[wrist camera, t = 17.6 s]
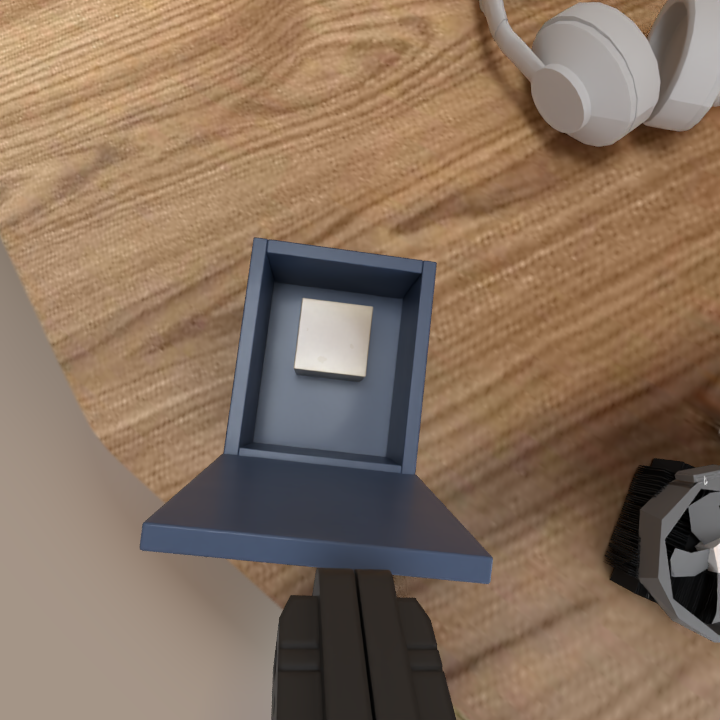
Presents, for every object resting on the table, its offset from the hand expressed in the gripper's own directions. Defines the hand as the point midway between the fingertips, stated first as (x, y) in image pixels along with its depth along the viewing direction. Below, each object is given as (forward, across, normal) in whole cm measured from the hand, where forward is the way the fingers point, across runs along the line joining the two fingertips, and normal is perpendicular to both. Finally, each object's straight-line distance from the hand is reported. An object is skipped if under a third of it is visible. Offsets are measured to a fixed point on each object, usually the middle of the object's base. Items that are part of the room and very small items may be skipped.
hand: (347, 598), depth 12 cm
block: (+27, +2, -6) cm, 28 cm away
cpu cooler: (+20, +28, -16) cm, 37 cm away
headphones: (+40, +20, +16) cm, 47 cm away
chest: (+27, +2, -8) cm, 28 cm away
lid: (+11, +1, -6) cm, 12 cm away
